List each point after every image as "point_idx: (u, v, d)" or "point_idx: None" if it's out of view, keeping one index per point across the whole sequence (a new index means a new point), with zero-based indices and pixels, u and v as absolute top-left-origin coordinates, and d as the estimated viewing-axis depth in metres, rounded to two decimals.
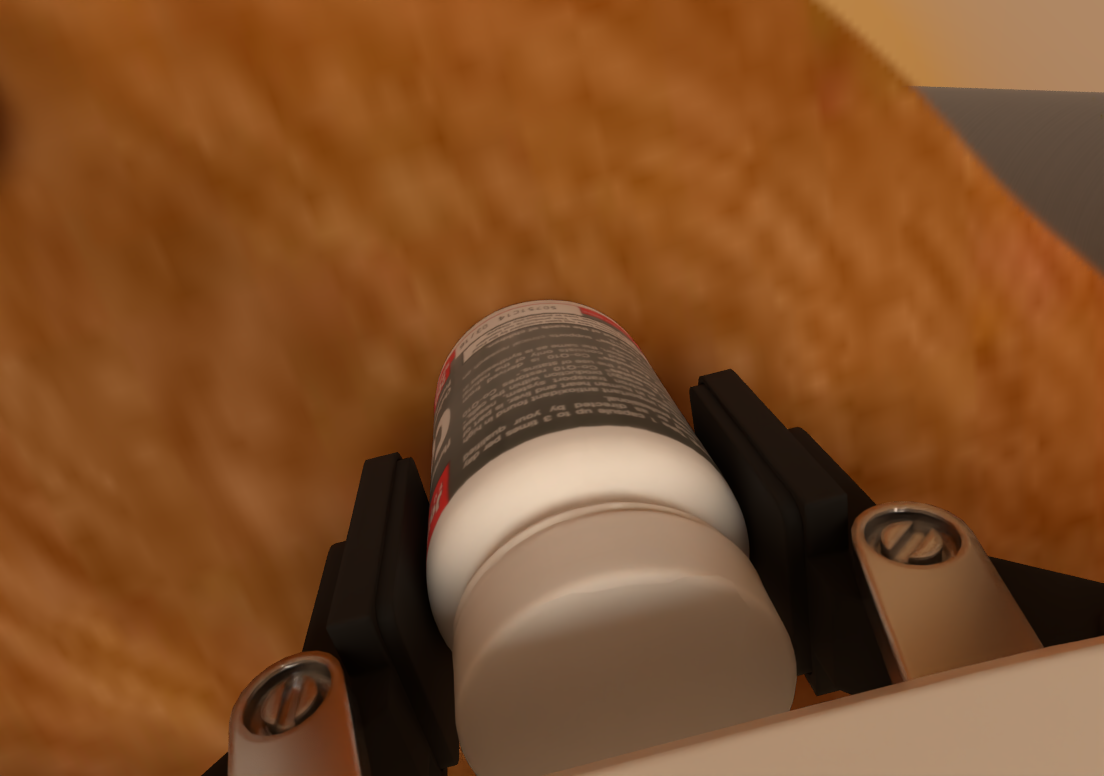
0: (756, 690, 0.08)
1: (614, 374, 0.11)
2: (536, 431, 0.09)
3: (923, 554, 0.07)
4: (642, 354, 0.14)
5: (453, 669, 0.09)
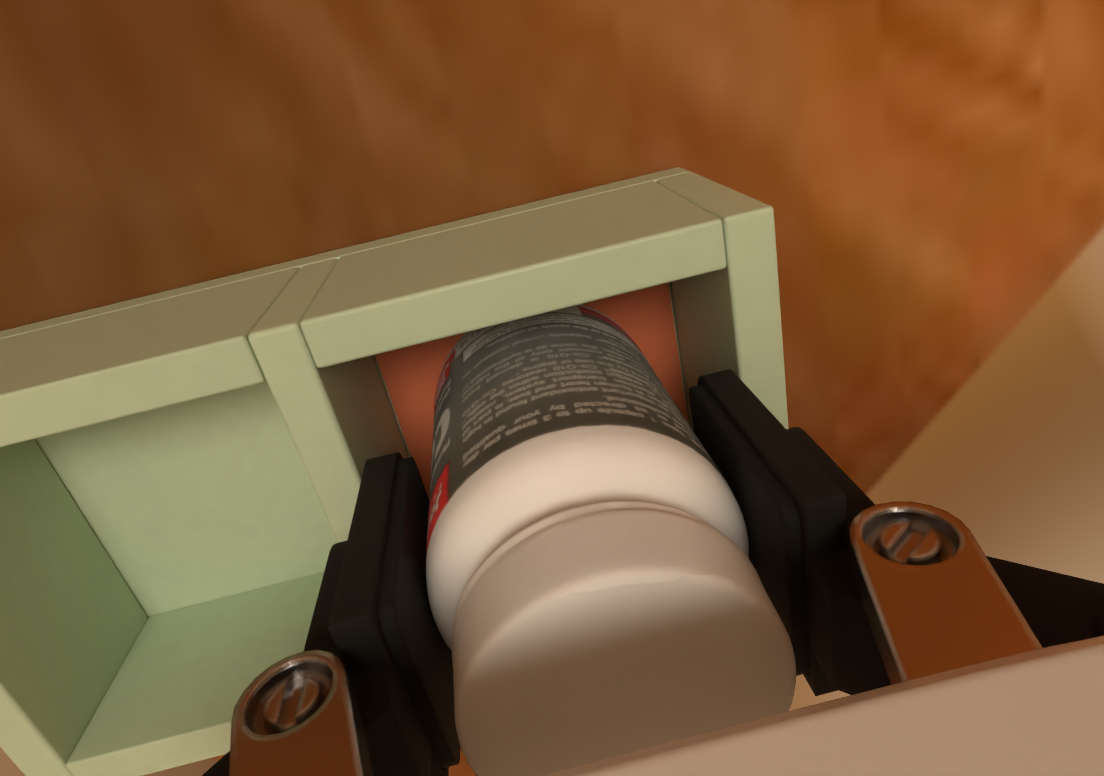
0: (756, 689, 0.08)
1: (614, 373, 0.11)
2: (535, 430, 0.09)
3: (921, 555, 0.07)
4: (642, 354, 0.14)
5: None
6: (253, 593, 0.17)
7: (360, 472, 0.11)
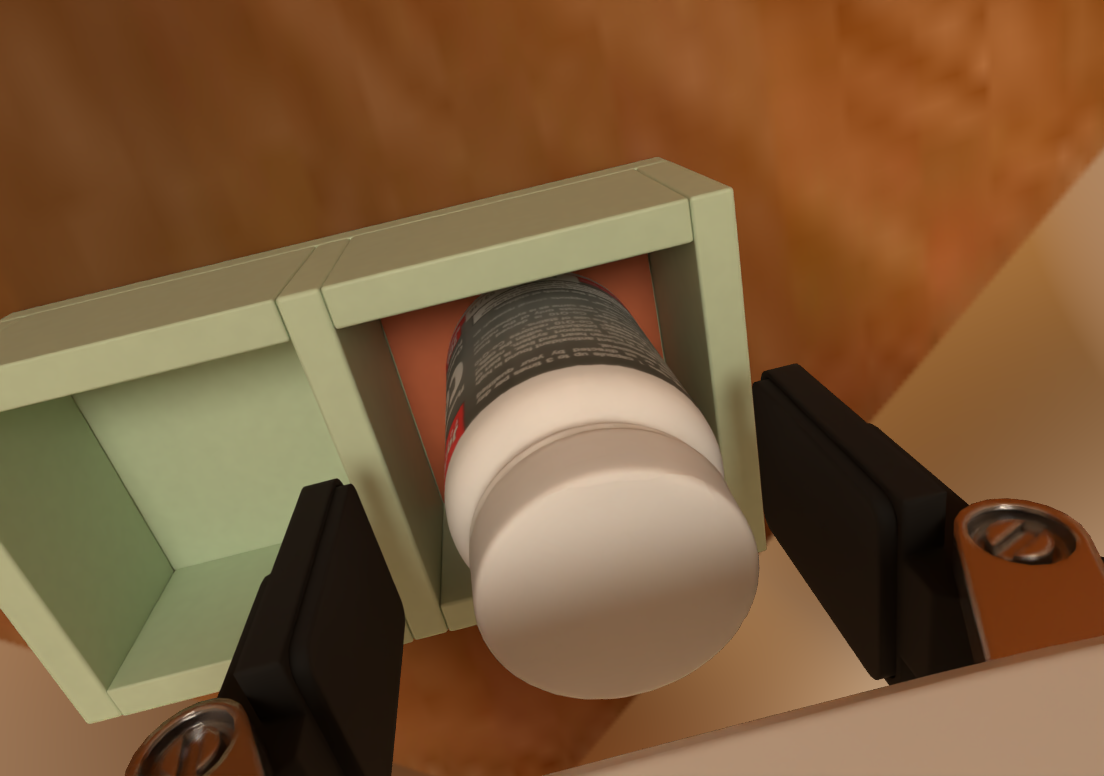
0: (725, 578, 0.09)
1: (608, 328, 0.12)
2: (539, 369, 0.11)
3: (1030, 554, 0.07)
4: (634, 319, 0.15)
5: None
6: (270, 548, 0.18)
7: (372, 424, 0.13)
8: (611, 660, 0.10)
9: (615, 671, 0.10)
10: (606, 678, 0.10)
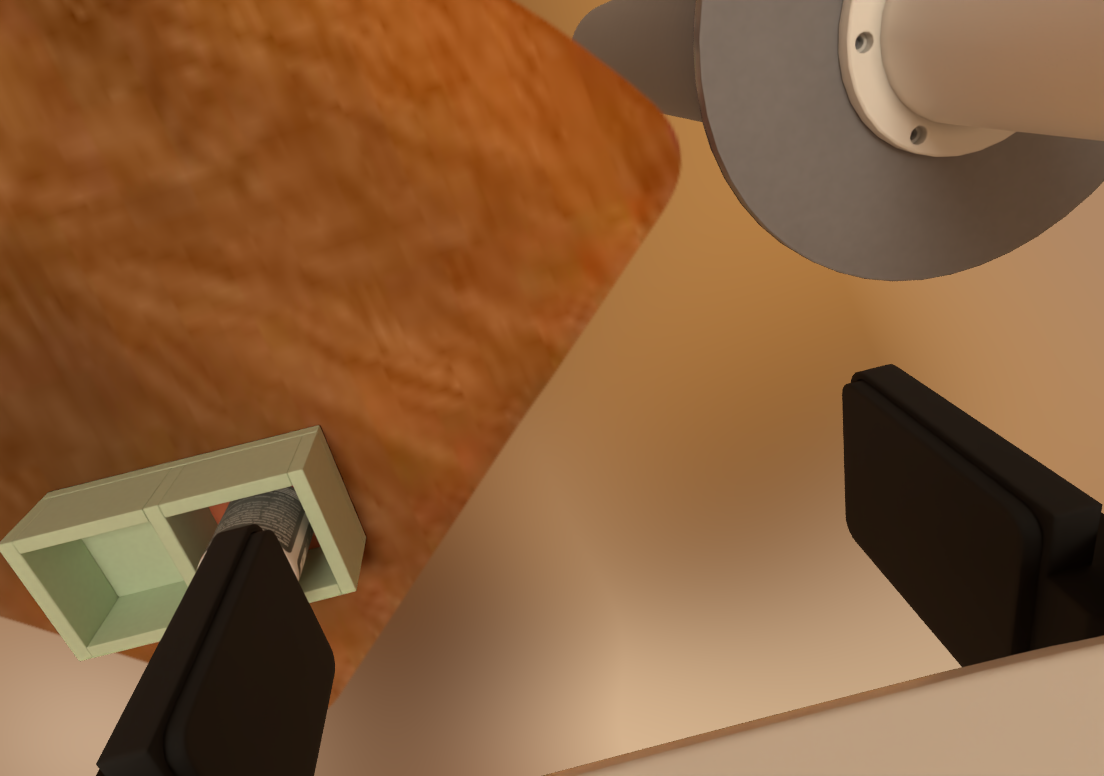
0: None
1: (264, 514, 0.35)
2: None
3: None
4: None
5: None
6: (162, 587, 0.40)
7: (183, 547, 0.35)
8: None
9: None
10: None
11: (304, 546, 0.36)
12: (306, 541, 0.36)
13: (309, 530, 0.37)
